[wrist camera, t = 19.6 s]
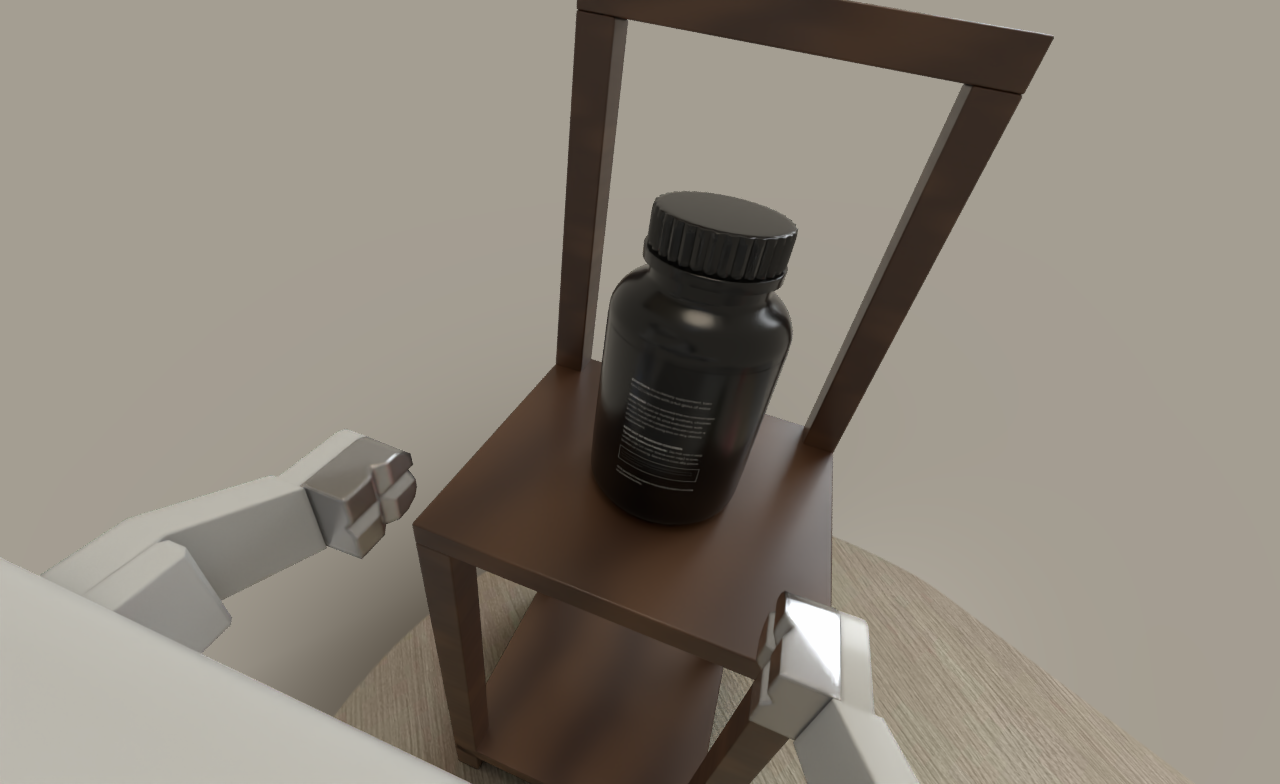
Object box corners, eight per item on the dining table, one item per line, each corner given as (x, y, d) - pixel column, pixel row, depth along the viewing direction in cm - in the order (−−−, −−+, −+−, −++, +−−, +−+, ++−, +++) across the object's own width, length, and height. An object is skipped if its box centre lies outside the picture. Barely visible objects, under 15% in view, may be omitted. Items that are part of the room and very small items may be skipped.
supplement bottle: (764, 489, 23) (875, 239, 16) (654, 560, 19) (737, 271, 12) (666, 407, 27) (721, 175, 20) (559, 452, 23) (579, 184, 16)
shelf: (458, 760, 34) (274, -164, 8) (549, 589, 45) (596, -40, 19) (677, 866, 32) (1438, 5, 6) (718, 657, 43) (1039, 36, 17)
